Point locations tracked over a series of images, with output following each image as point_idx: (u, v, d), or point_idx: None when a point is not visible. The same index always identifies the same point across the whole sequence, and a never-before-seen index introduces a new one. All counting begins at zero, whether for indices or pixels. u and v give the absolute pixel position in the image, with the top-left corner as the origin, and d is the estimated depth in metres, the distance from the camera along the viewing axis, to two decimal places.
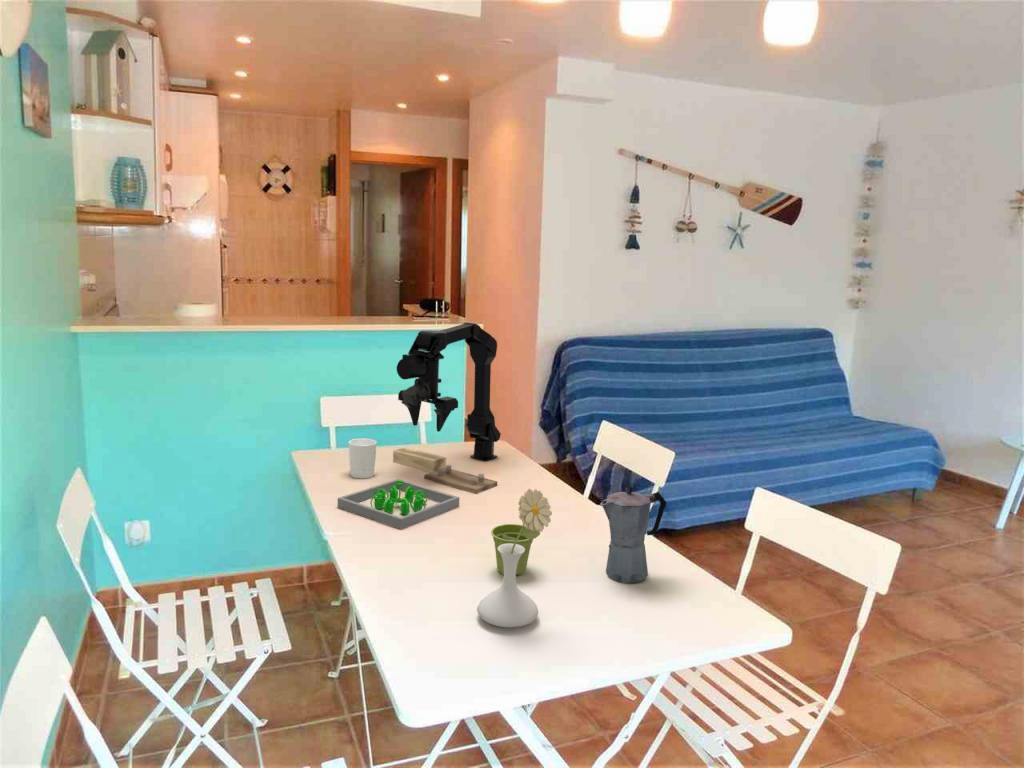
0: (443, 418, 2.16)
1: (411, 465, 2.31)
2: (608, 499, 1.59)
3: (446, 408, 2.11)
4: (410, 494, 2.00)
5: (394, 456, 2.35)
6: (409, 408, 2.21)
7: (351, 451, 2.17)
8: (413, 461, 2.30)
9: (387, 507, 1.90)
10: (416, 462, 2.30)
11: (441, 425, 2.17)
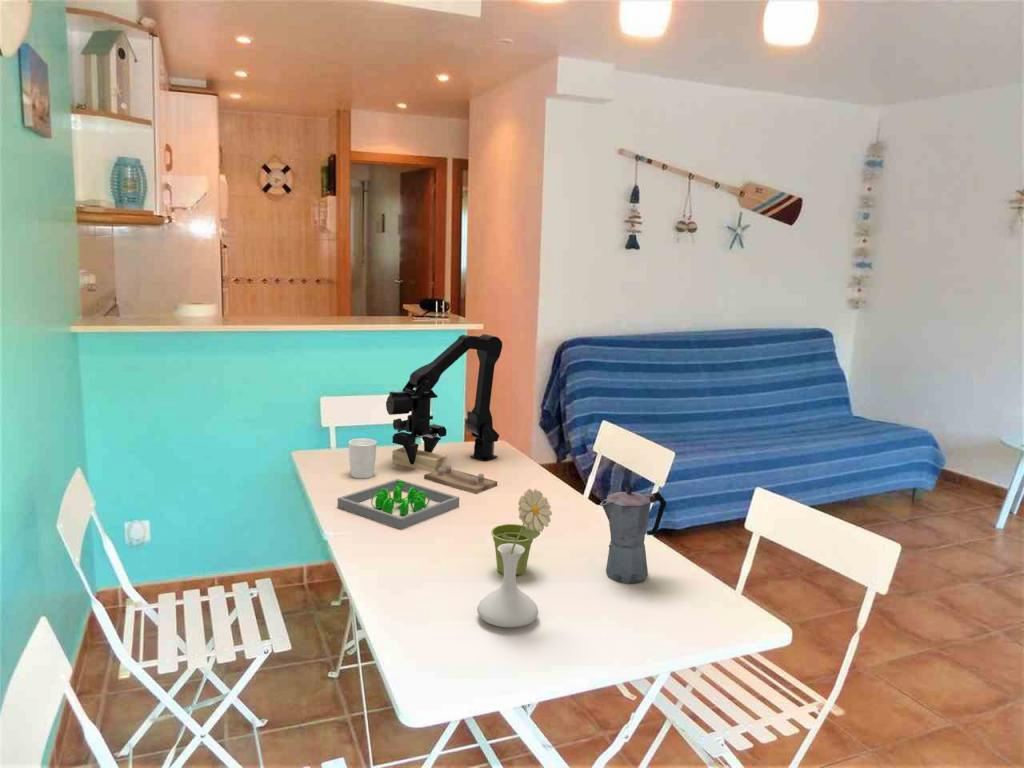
0: (410, 452, 2.29)
1: (412, 465, 2.31)
2: (608, 499, 1.59)
3: (393, 441, 2.26)
4: (413, 495, 2.00)
5: (393, 456, 2.34)
6: None
7: (351, 451, 2.17)
8: (414, 461, 2.30)
9: (386, 507, 1.90)
10: (417, 462, 2.30)
11: (411, 459, 2.30)
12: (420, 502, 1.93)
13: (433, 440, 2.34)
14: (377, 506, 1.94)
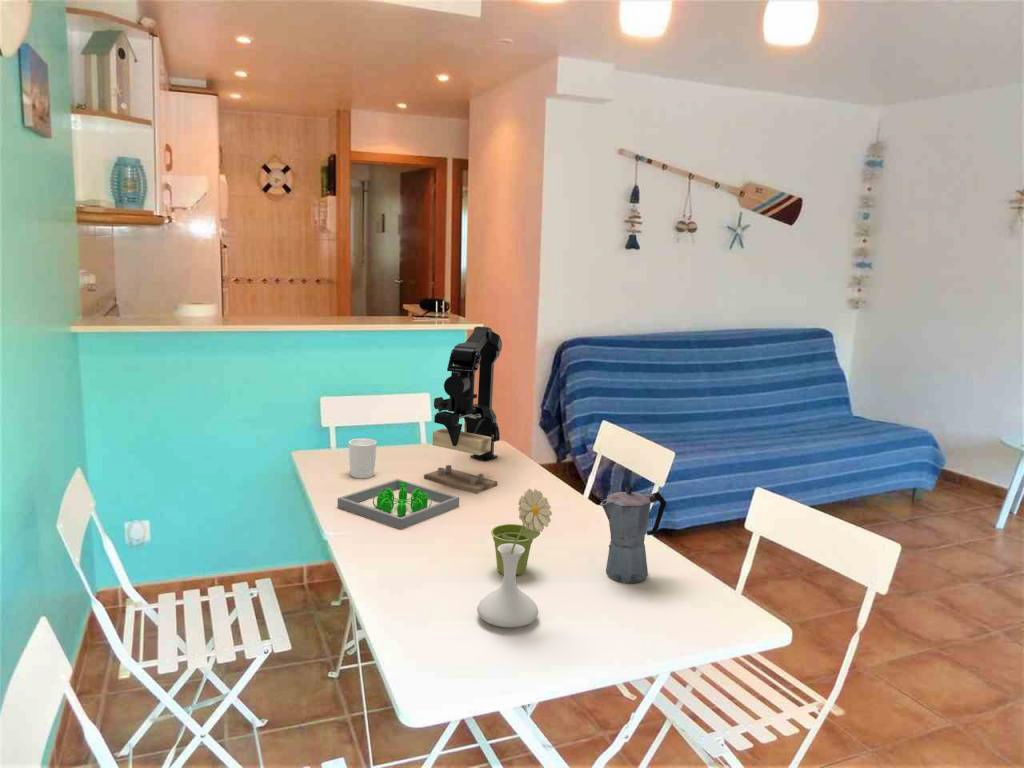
0: (453, 433, 2.13)
1: (454, 446, 2.15)
2: (608, 499, 1.59)
3: (435, 420, 2.10)
4: (417, 496, 1.99)
5: (434, 437, 2.18)
6: None
7: (351, 451, 2.17)
8: None
9: (384, 506, 1.91)
10: (460, 443, 2.14)
11: (453, 440, 2.14)
12: (418, 504, 1.92)
13: (476, 420, 2.18)
14: (378, 505, 1.94)
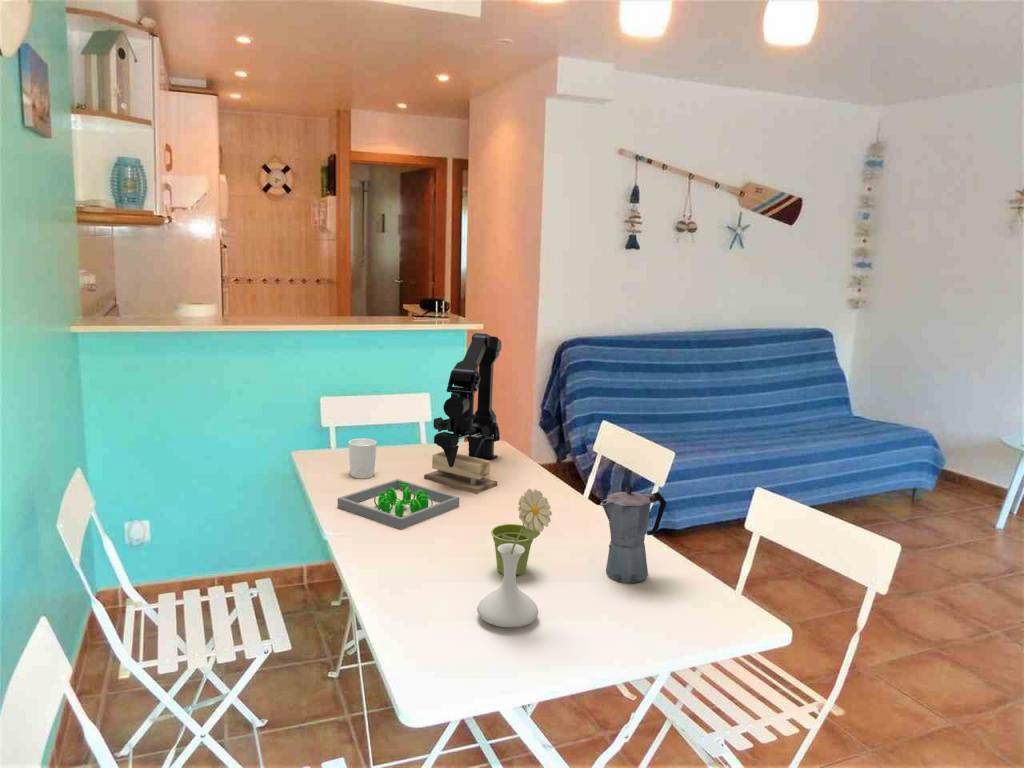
0: (450, 454, 2.13)
1: (453, 470, 2.16)
2: (608, 499, 1.59)
3: (434, 441, 2.11)
4: (419, 498, 1.98)
5: (433, 461, 2.20)
6: None
7: (351, 451, 2.17)
8: (456, 466, 2.16)
9: (382, 506, 1.91)
10: (459, 467, 2.15)
11: (450, 461, 2.14)
12: (416, 505, 1.90)
13: (479, 440, 2.20)
14: None
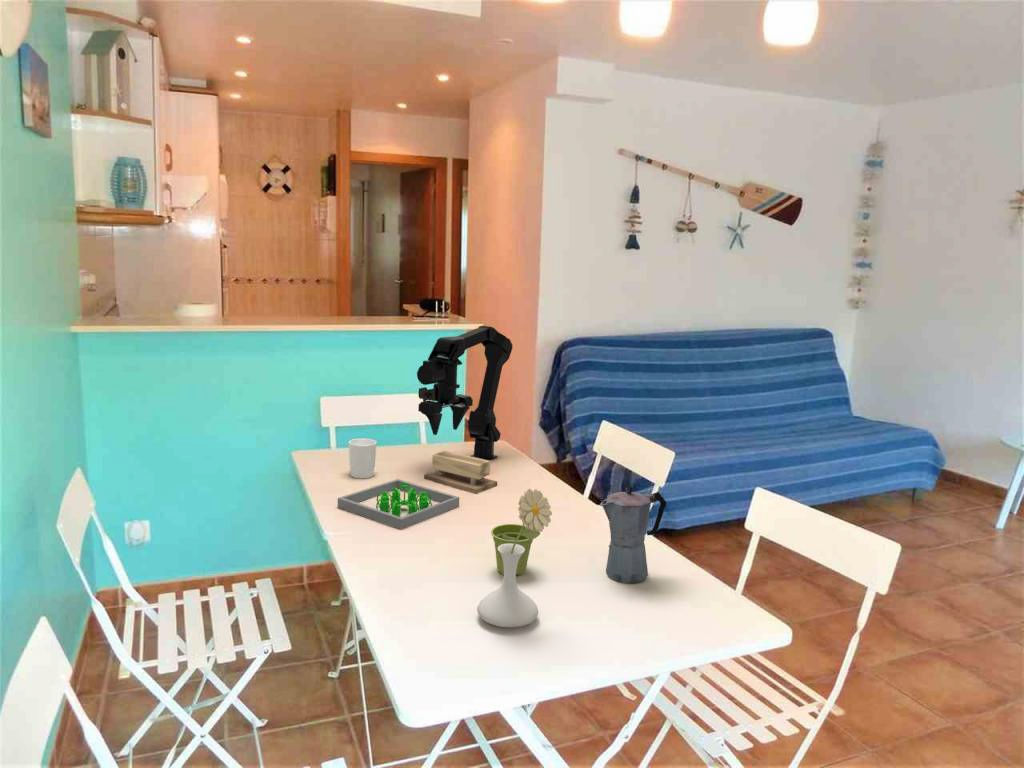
0: (434, 422, 2.21)
1: (453, 470, 2.16)
2: (608, 499, 1.59)
3: (419, 409, 2.19)
4: (422, 500, 1.96)
5: (433, 461, 2.20)
6: None
7: (351, 451, 2.17)
8: (456, 466, 2.16)
9: (381, 505, 1.91)
10: (459, 467, 2.15)
11: (434, 429, 2.22)
12: (413, 507, 1.89)
13: (462, 409, 2.29)
14: None
